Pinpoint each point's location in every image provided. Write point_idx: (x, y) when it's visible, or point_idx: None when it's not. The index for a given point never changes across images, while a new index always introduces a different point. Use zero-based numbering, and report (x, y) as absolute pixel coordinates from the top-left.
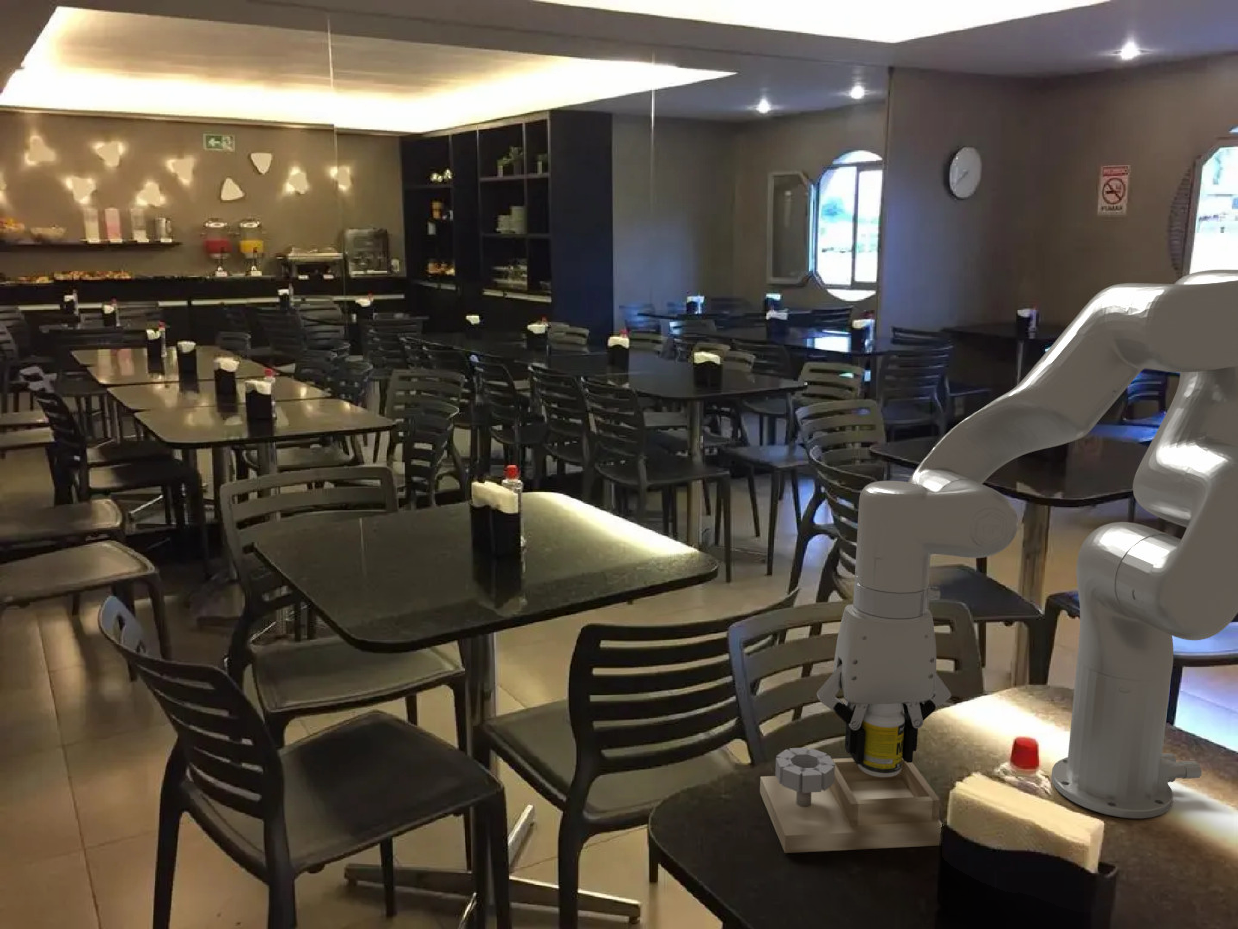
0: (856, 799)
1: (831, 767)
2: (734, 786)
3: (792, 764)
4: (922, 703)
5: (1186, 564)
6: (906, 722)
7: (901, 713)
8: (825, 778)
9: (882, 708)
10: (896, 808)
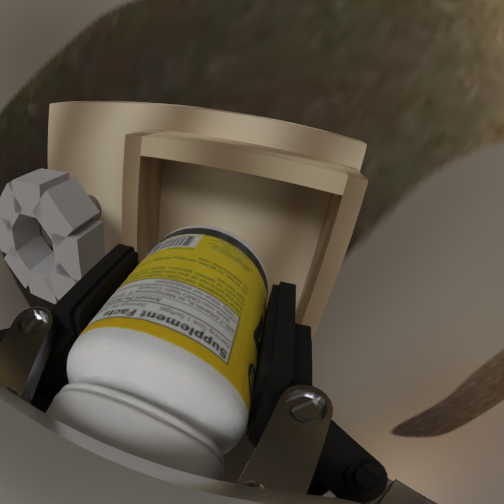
0: (185, 225)
1: None
2: (47, 79)
3: (14, 250)
4: (325, 493)
5: None
6: (252, 426)
7: (224, 451)
8: None
9: None
10: None
